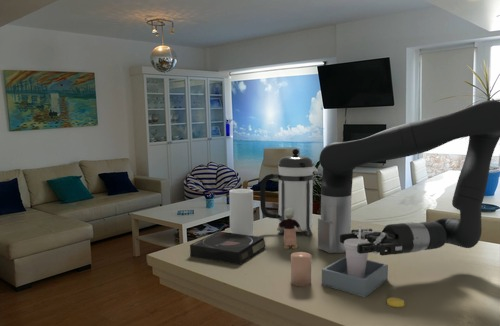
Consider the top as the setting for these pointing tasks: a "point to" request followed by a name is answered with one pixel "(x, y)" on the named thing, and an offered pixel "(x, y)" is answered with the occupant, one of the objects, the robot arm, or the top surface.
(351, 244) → the smoothie
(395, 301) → the yellow disc
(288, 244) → the grandmother figurine
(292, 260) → the canister
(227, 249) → the portable cd player
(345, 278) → the tote
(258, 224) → the top surface
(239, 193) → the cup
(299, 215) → the coffee press
